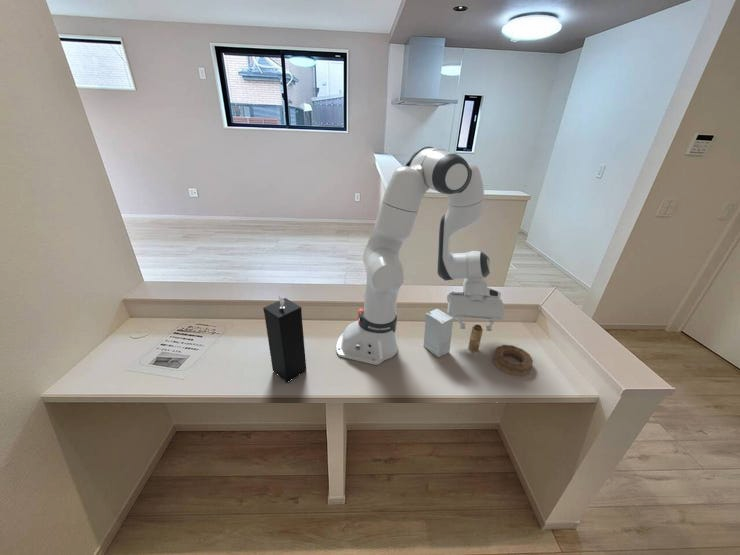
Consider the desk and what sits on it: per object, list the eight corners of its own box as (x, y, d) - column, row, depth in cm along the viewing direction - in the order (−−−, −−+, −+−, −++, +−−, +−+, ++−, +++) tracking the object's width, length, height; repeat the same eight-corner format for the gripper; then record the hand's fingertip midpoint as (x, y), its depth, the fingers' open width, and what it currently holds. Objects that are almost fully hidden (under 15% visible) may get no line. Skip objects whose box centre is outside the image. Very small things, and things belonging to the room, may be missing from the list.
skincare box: (449, 352, 113) (455, 318, 106) (437, 358, 110) (442, 323, 103) (433, 340, 119) (438, 307, 113) (421, 345, 116) (425, 312, 110)
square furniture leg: (287, 383, 97) (277, 307, 85) (272, 371, 102) (261, 297, 90) (306, 370, 103) (300, 297, 90) (292, 359, 107) (284, 288, 95)
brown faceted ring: (498, 373, 104) (500, 366, 103) (489, 350, 115) (491, 343, 113) (535, 376, 103) (538, 369, 102) (523, 353, 114) (525, 346, 112)
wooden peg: (469, 351, 114) (473, 329, 109) (467, 345, 117) (472, 323, 113) (479, 352, 113) (484, 329, 109) (477, 346, 117) (482, 324, 112)
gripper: (448, 289, 116) (448, 325, 111) (505, 292, 114) (507, 330, 110) (445, 293, 122) (445, 328, 117) (499, 297, 120) (501, 333, 116)
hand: (475, 329), depth 114 cm, fingers open, 8 cm apart
